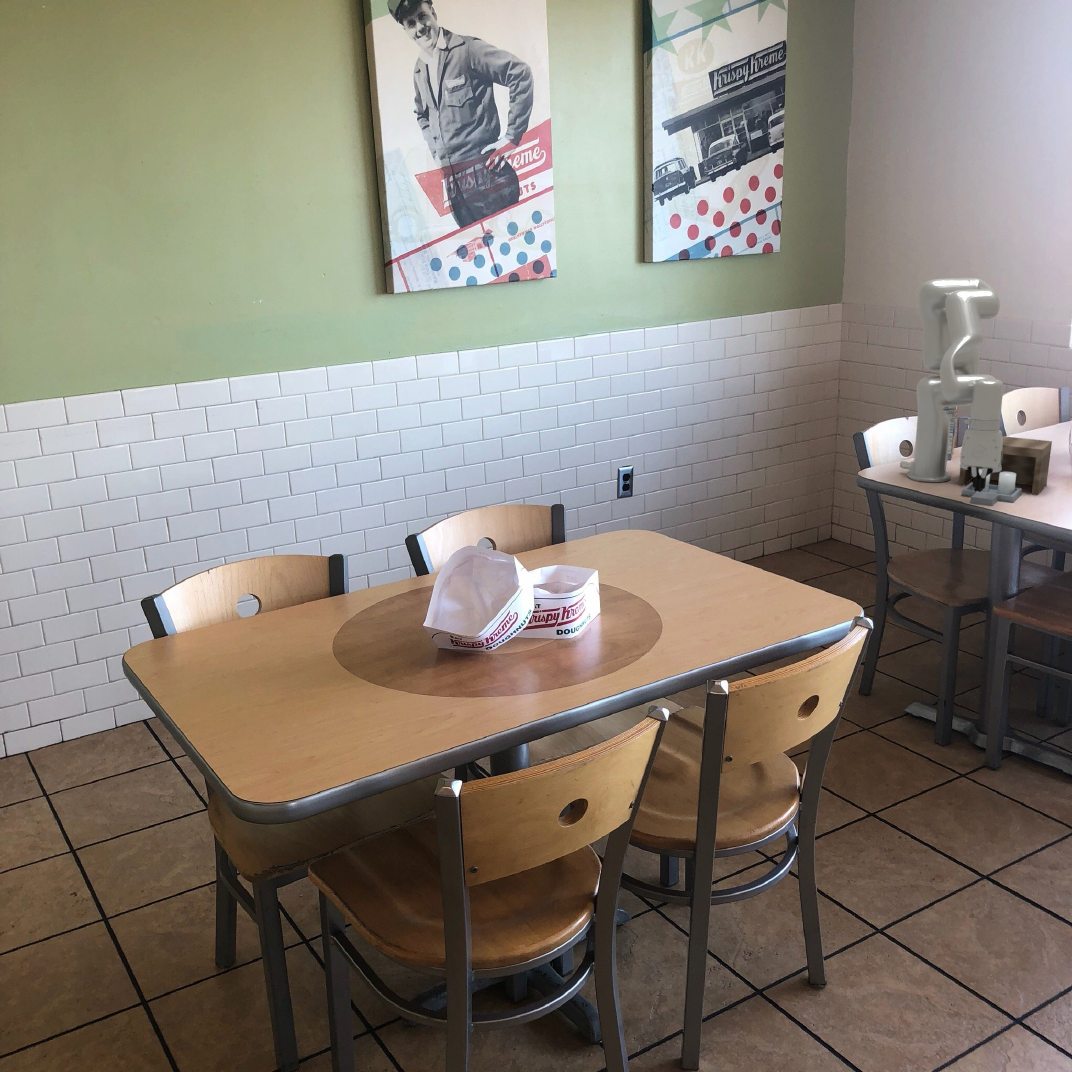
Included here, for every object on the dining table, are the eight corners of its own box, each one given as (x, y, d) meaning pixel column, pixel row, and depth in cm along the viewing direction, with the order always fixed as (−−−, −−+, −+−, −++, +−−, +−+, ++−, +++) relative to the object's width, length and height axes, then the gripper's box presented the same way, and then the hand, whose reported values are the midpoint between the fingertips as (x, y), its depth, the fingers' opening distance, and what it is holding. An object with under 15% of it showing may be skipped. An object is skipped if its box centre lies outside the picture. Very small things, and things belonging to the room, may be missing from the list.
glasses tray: (955, 500, 302) (957, 478, 300) (971, 487, 314) (973, 466, 312) (1007, 508, 294) (1010, 485, 292) (1021, 494, 306) (1023, 472, 304)
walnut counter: (958, 484, 318) (962, 441, 314) (969, 476, 327) (973, 433, 323) (1037, 495, 305) (1042, 449, 301) (1046, 485, 314) (1052, 441, 310)
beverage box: (928, 458, 349) (934, 392, 342) (931, 451, 358) (937, 386, 352) (950, 460, 346) (957, 393, 339) (953, 452, 356) (959, 387, 349)
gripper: (952, 424, 287) (946, 490, 293) (1010, 429, 279) (1003, 497, 284) (959, 420, 293) (954, 484, 298) (1017, 425, 285) (1010, 491, 290)
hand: (978, 490), depth 291 cm, fingers closed
